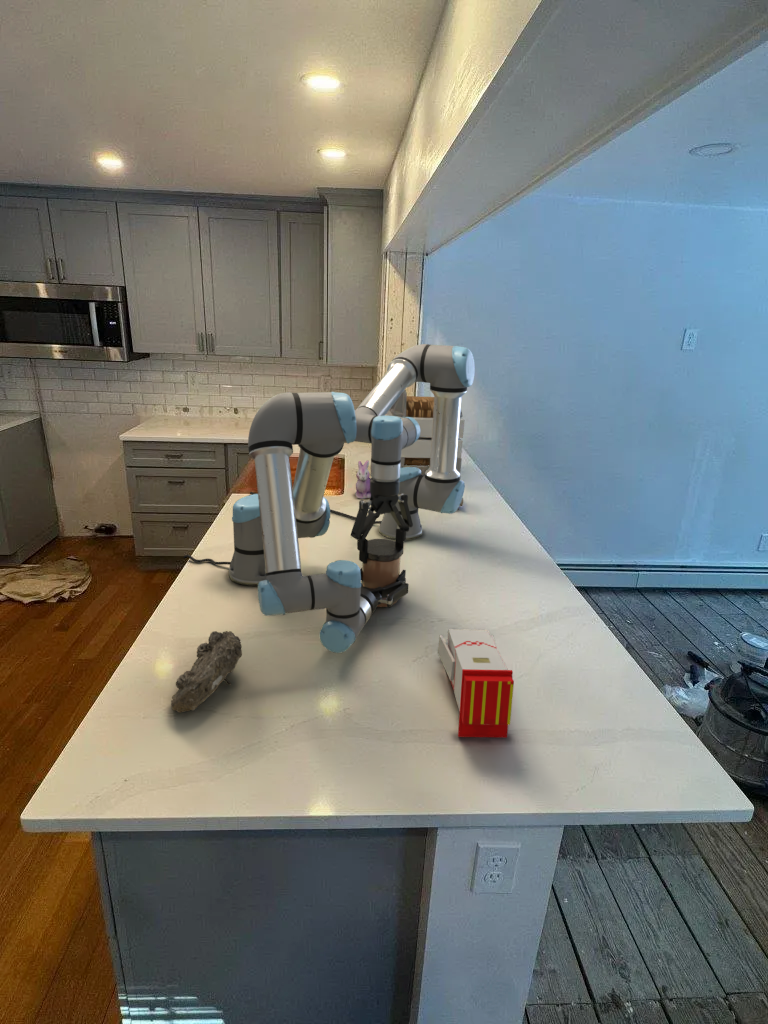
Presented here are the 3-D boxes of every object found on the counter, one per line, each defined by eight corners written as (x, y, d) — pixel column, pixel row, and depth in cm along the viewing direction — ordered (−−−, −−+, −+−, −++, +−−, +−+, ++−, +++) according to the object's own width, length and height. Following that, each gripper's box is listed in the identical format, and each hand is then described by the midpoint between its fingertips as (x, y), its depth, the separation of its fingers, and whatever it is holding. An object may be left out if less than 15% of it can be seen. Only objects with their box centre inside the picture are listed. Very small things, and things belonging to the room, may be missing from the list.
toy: (488, 613, 130) (523, 677, 101) (484, 667, 133) (517, 744, 104) (435, 612, 130) (455, 676, 101) (432, 666, 133) (451, 743, 103)
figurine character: (463, 515, 225) (458, 499, 238) (465, 497, 221) (460, 482, 235) (446, 514, 224) (442, 498, 238) (448, 497, 221) (444, 482, 235)
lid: (366, 563, 144) (367, 557, 143) (355, 545, 154) (356, 540, 153) (408, 559, 147) (408, 553, 147) (394, 542, 157) (395, 537, 157)
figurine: (359, 500, 232) (360, 465, 227) (349, 493, 240) (350, 458, 235) (380, 498, 236) (381, 463, 231) (369, 490, 244) (370, 457, 239)
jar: (361, 588, 160) (363, 540, 155) (397, 590, 160) (400, 542, 155) (360, 606, 150) (361, 556, 146) (398, 608, 150) (401, 557, 146)
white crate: (382, 463, 289) (386, 382, 275) (445, 464, 293) (451, 384, 279) (390, 482, 257) (394, 392, 243) (460, 483, 261) (468, 394, 247)
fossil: (194, 633, 127) (242, 602, 122) (224, 662, 130) (271, 633, 125) (149, 706, 107) (203, 673, 102) (185, 738, 110) (239, 707, 105)
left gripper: (314, 612, 141) (346, 576, 161) (402, 630, 135) (424, 590, 155) (314, 585, 139) (347, 551, 159) (403, 603, 133) (426, 565, 153)
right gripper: (412, 468, 153) (407, 543, 161) (337, 480, 140) (336, 561, 147) (430, 475, 147) (424, 552, 155) (354, 488, 134) (351, 572, 142)
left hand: (385, 570), depth 157 cm, fingers closed on jar, 10 cm apart
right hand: (381, 557), depth 151 cm, fingers closed on lid, 11 cm apart
